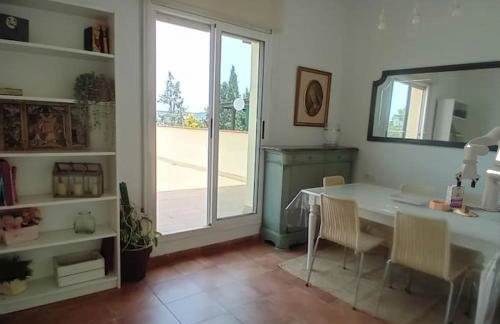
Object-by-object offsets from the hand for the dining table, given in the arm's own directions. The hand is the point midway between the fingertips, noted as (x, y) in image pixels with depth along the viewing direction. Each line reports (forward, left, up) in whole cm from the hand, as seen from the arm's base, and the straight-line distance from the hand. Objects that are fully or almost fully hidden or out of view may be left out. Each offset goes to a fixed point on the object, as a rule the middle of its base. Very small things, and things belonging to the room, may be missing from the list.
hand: (465, 187), depth 222 cm
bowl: (+10, -10, -19) cm, 24 cm away
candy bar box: (-6, -17, -19) cm, 27 cm away
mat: (-1, +1, -19) cm, 19 cm away
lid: (-1, +1, -19) cm, 19 cm away
